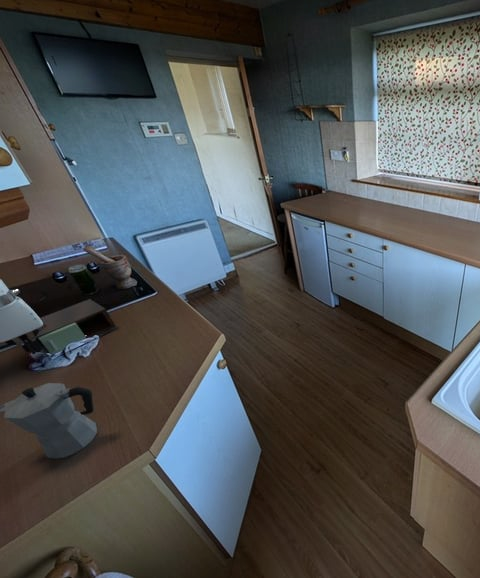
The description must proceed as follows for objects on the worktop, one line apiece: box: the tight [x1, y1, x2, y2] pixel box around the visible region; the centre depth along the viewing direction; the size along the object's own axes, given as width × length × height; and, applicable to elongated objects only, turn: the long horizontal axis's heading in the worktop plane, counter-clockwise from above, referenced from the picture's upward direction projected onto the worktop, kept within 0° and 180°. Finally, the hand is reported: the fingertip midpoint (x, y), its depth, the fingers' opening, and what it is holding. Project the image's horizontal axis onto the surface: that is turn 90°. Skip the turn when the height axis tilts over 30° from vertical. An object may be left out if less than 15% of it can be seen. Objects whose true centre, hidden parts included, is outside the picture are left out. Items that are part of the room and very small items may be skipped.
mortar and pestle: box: [82, 245, 138, 290], centre depth 124 cm, size 12×9×20 cm
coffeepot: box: [0, 382, 98, 460], centre depth 66 cm, size 15×9×18 cm, turn 111°
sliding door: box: [38, 323, 86, 354], centre depth 94 cm, size 9×2×7 cm, turn 151°
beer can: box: [68, 264, 100, 296], centre depth 122 cm, size 5×5×12 cm
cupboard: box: [36, 298, 120, 353], centre depth 99 cm, size 18×14×8 cm
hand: (35, 351), depth 88 cm, fingers closed
